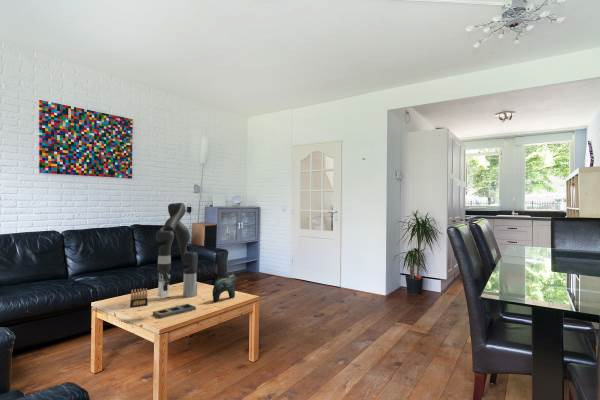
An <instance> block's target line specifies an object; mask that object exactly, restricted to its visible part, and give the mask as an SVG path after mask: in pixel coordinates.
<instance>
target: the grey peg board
mask: <svg viewBox="0 0 600 400" xmlns="http://www.w3.org/2000/svg"><path fill="white" fill-rule="evenodd" d="M196 309H197V306H195V305H192V304H190V303H185V304H181V305H175V306H171V307H168V308H163V309H158V310H155V311H152V316H155V317H156V318H159V319H165V318H168V317H169V318H170V317H172V316H177V315H180V314H183V313H184V314H185V313H189V312H193V311H196ZM192 310H193V311H192Z"/></svg>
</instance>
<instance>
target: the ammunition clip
mask: <svg viewBox="0 0 600 400" xmlns="http://www.w3.org/2000/svg"><path fill="white" fill-rule="evenodd" d="M130 292H131V293H130V303H129V307H130V308H133V309H134V308H140V307H146V306H147V307H148V306H149V305H148V304H149V303H148V288H147V287H146V288H143V289H142V288H140V289H139V288H137V289H136V288H134V290H133V289H131V291H130Z"/></svg>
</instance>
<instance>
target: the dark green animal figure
mask: <svg viewBox="0 0 600 400" xmlns="http://www.w3.org/2000/svg"><path fill="white" fill-rule="evenodd" d="M227 273H228V274H227ZM224 274H225V275H226V276H227V277H222V278H221V277H219V278H217V279H216V281H215V283H214V285H213V288H212V301H213V303H219V302H220V296H221V295H222V293H224V292H227V293H228V298H229V297H230V298H229V299H231V298H232V299H234V298H233V297H235V296H236V283H237V276H236V275H235V274H234V273H231V274H230V272H228V271H226V272H225V273H224ZM235 298H236V297H235ZM218 301H219V302H218Z"/></svg>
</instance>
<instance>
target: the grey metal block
mask: <svg viewBox="0 0 600 400" xmlns="http://www.w3.org/2000/svg"><path fill="white" fill-rule="evenodd" d="M157 287H158V288H157V289H158V291H157V296H158V297H160V298H165V297H169V290H170V289H169V288H170V284H168V288H167V291H164V282H163V281H159V282H158V286H157Z"/></svg>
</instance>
